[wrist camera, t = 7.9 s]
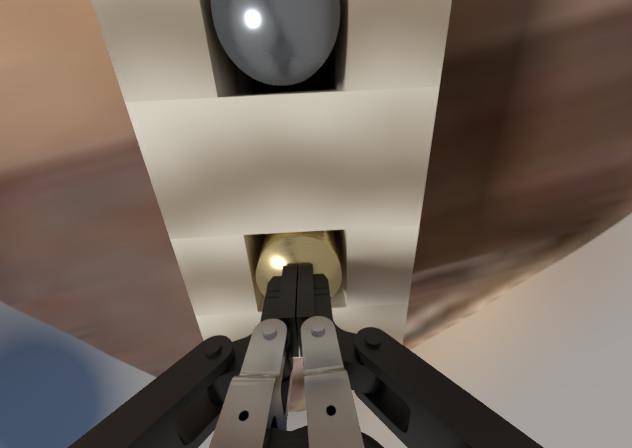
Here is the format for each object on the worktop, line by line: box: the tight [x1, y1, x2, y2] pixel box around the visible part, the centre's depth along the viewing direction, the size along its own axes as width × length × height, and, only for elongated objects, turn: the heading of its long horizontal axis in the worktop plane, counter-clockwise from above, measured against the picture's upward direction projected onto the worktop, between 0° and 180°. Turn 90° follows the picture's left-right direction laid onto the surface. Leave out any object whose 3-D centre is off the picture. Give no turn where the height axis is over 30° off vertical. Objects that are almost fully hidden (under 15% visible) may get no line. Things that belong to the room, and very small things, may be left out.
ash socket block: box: [92, 0, 452, 358], centre depth 15 cm, size 24×12×8 cm, turn 2°
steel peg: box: [211, 0, 340, 85], centre depth 13 cm, size 4×4×7 cm
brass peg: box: [256, 230, 342, 298], centre depth 17 cm, size 4×4×7 cm
